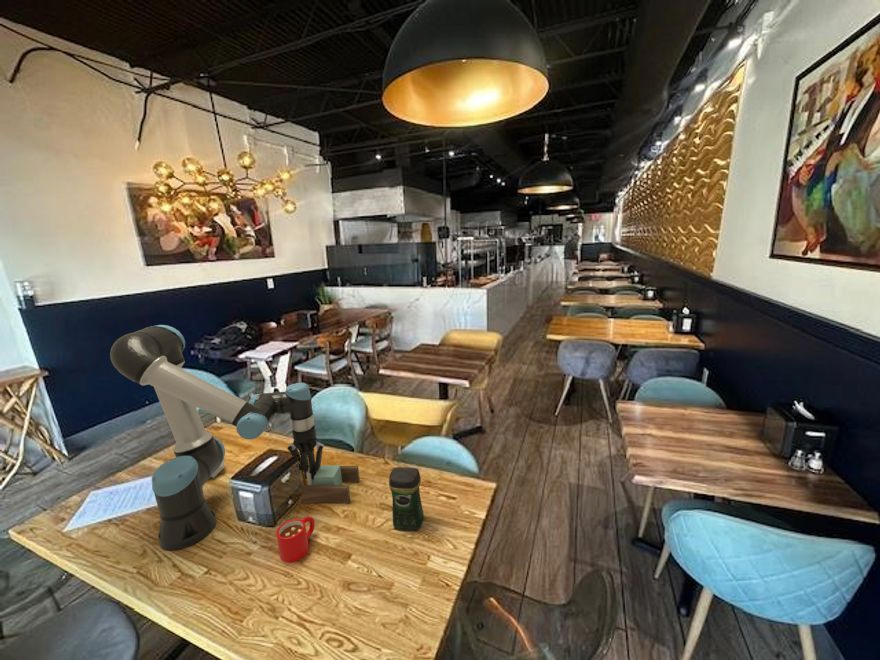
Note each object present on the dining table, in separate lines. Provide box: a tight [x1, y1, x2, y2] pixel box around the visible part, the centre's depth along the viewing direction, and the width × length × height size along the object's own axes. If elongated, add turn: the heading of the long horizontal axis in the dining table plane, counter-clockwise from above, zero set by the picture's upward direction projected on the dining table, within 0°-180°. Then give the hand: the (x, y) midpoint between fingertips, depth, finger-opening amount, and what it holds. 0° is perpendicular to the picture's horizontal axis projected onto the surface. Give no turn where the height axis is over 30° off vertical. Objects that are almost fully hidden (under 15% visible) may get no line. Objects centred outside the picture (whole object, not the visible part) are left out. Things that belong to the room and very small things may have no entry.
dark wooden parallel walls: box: [300, 465, 360, 505], centre depth 133 cm, size 13×17×6 cm
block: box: [314, 464, 343, 485], centre depth 133 cm, size 7×7×8 cm
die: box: [210, 460, 226, 479], centre depth 147 cm, size 8×9×10 cm
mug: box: [275, 515, 315, 564], centre depth 109 cm, size 8×12×8 cm, turn 154°
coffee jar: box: [388, 466, 425, 531], centre depth 115 cm, size 10×8×19 cm
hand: (312, 486), depth 134 cm, fingers closed
